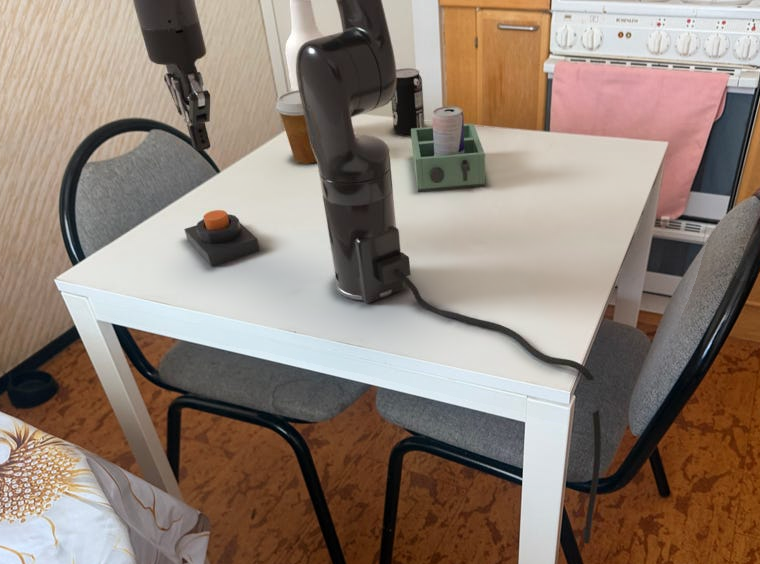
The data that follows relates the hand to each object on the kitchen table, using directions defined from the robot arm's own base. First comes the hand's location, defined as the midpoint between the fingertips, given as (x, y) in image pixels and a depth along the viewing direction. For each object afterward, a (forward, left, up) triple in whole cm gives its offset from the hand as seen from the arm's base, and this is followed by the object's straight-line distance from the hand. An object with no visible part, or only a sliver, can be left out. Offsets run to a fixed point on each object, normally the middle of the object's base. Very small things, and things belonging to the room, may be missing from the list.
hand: (202, 148), depth 102 cm
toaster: (0, -43, -16) cm, 46 cm away
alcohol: (+33, -34, -16) cm, 50 cm away
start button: (0, +1, -12) cm, 12 cm away
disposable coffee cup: (+24, -27, -16) cm, 39 cm away
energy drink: (-4, -42, -16) cm, 44 cm away
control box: (0, +1, -16) cm, 16 cm away
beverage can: (+23, -50, -16) cm, 57 cm away
